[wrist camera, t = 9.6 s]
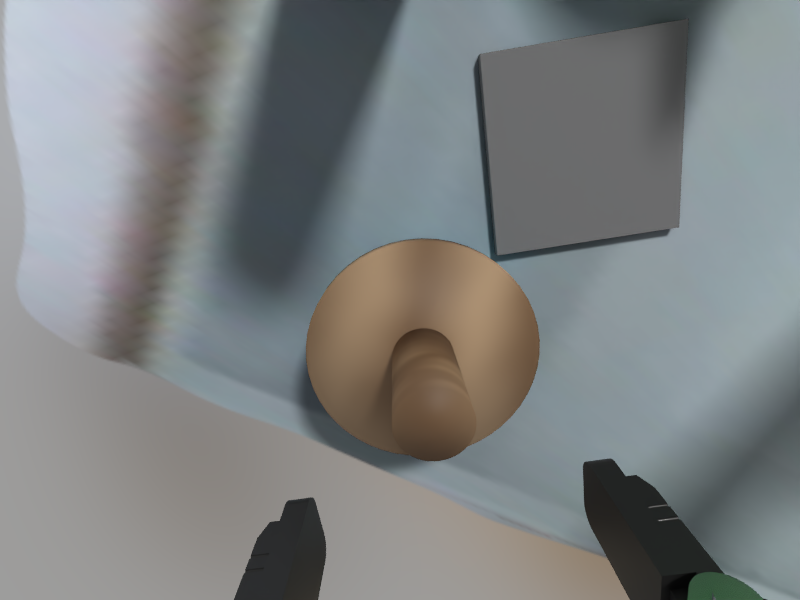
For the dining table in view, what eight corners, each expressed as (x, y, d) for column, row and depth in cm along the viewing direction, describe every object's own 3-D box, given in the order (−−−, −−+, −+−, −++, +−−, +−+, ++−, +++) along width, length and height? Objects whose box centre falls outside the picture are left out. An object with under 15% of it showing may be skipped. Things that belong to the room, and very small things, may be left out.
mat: (681, 22, 22) (688, 18, 22) (672, 226, 26) (679, 227, 25) (477, 57, 23) (480, 54, 22) (494, 253, 26) (497, 255, 25)
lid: (527, 220, 20) (590, 244, 14) (540, 430, 24) (596, 528, 17) (285, 258, 21) (235, 299, 14) (333, 460, 24) (312, 566, 18)
